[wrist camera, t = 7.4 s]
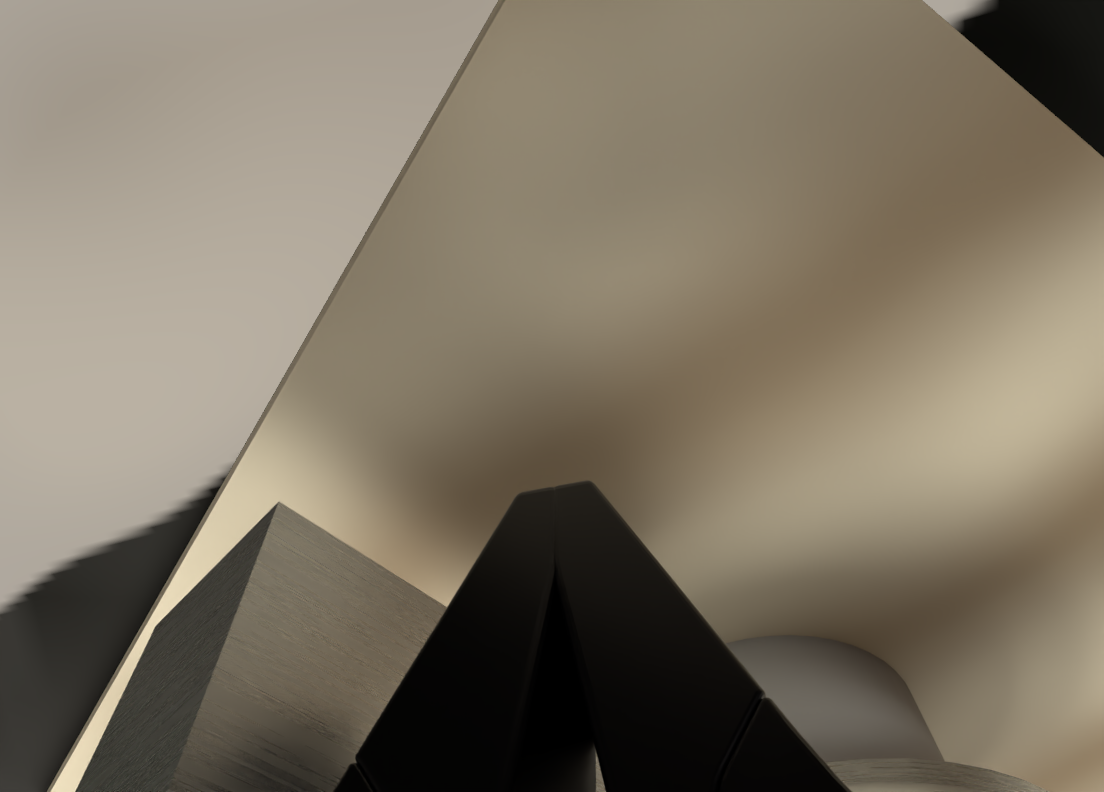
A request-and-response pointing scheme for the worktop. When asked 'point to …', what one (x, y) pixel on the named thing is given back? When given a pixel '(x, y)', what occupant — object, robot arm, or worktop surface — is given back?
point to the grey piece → (317, 678)
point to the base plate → (737, 361)
